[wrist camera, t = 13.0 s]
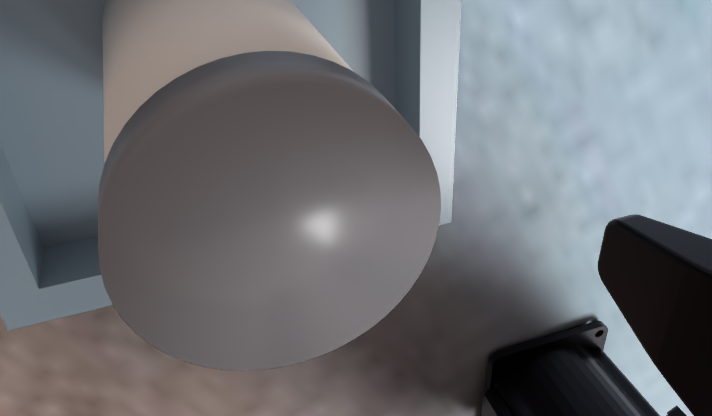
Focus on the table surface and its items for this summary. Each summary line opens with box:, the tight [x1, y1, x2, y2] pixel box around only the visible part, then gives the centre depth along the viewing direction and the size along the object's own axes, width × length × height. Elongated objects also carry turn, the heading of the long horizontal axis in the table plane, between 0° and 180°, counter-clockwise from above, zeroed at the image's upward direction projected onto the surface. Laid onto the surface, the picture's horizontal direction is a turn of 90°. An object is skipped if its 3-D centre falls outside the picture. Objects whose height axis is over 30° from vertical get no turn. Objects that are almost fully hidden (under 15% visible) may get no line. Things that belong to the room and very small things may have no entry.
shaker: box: [98, 0, 441, 371], centre depth 14 cm, size 5×5×10 cm
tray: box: [0, 0, 461, 331], centre depth 17 cm, size 14×14×3 cm
